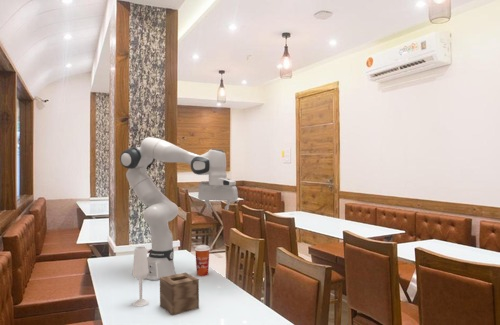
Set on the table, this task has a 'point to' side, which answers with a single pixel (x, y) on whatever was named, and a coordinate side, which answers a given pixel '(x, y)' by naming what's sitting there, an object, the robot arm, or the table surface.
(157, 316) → the table surface
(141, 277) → the champagne flute
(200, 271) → the coffee cup
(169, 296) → the walnut tip box
